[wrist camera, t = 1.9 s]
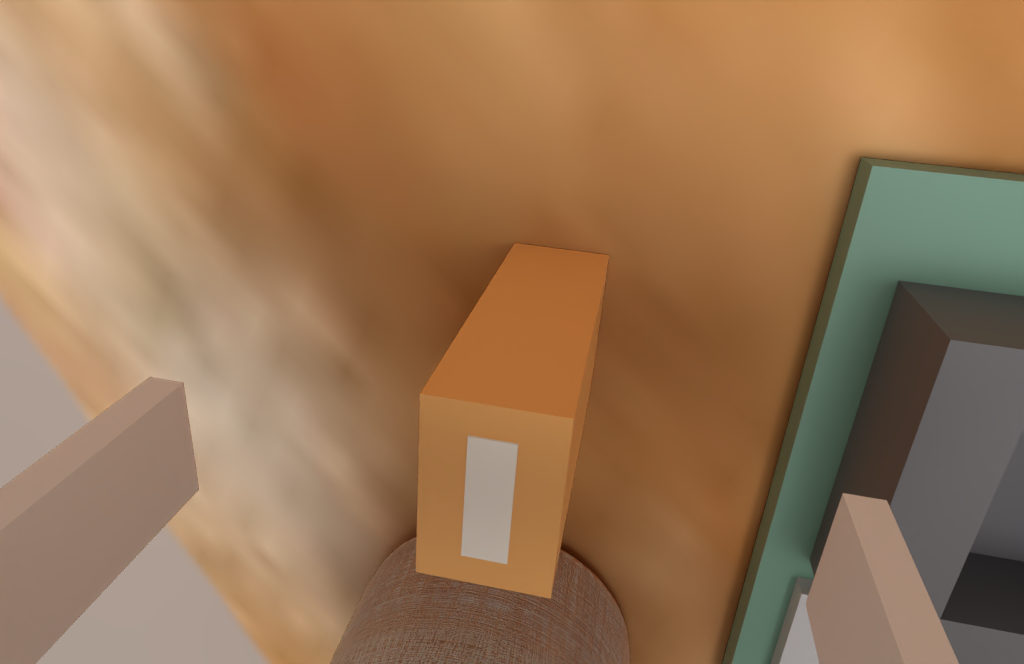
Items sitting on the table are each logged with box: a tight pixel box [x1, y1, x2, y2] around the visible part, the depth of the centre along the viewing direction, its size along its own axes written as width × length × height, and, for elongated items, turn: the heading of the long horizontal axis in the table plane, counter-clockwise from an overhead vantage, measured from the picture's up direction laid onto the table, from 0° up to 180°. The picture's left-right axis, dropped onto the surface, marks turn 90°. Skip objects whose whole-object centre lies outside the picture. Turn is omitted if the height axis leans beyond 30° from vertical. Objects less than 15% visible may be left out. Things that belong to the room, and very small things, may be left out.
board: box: [722, 157, 1024, 664], centre depth 21 cm, size 20×12×5 cm, turn 175°
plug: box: [416, 243, 609, 599], centre depth 19 cm, size 4×3×10 cm, turn 175°
